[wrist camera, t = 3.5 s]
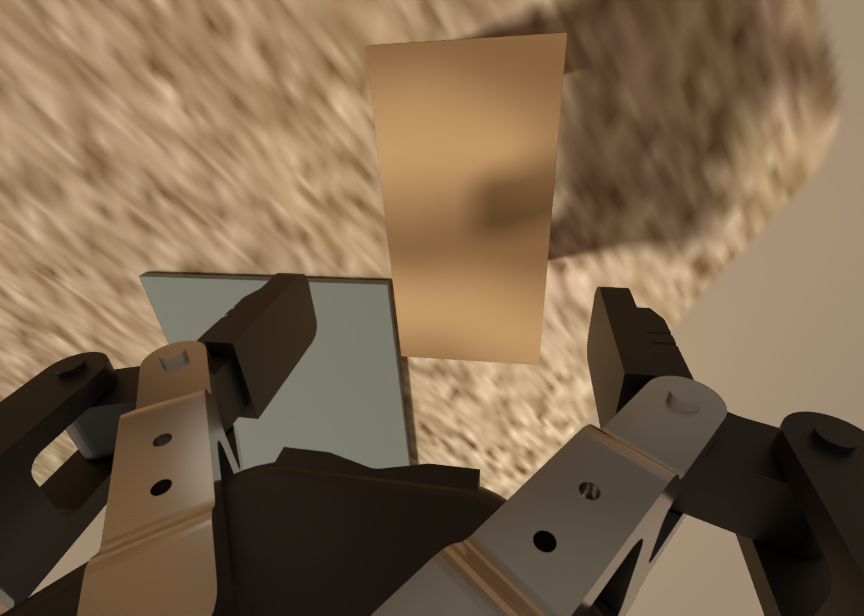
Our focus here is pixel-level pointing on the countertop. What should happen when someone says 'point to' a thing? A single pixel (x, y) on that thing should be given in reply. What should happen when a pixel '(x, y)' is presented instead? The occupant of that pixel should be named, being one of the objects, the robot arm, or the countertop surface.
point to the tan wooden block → (469, 189)
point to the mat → (309, 367)
